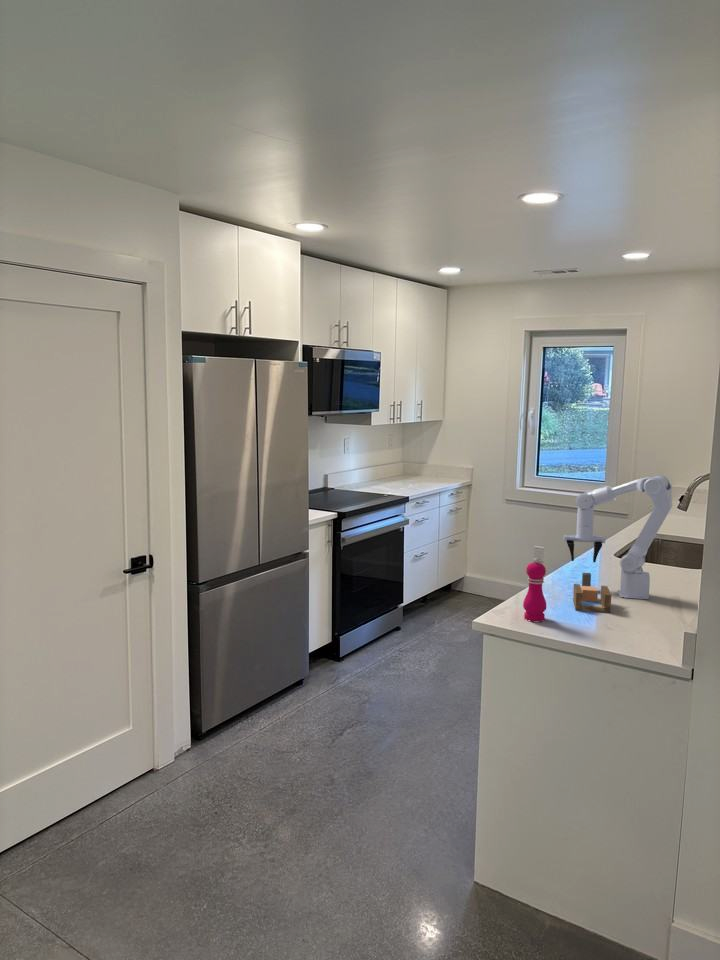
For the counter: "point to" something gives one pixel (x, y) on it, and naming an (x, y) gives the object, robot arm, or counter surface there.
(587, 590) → the grey and tan dumbbell
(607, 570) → the counter surface
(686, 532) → the counter surface
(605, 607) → the brown wooden u-shaped piece
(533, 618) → the pepper mill
